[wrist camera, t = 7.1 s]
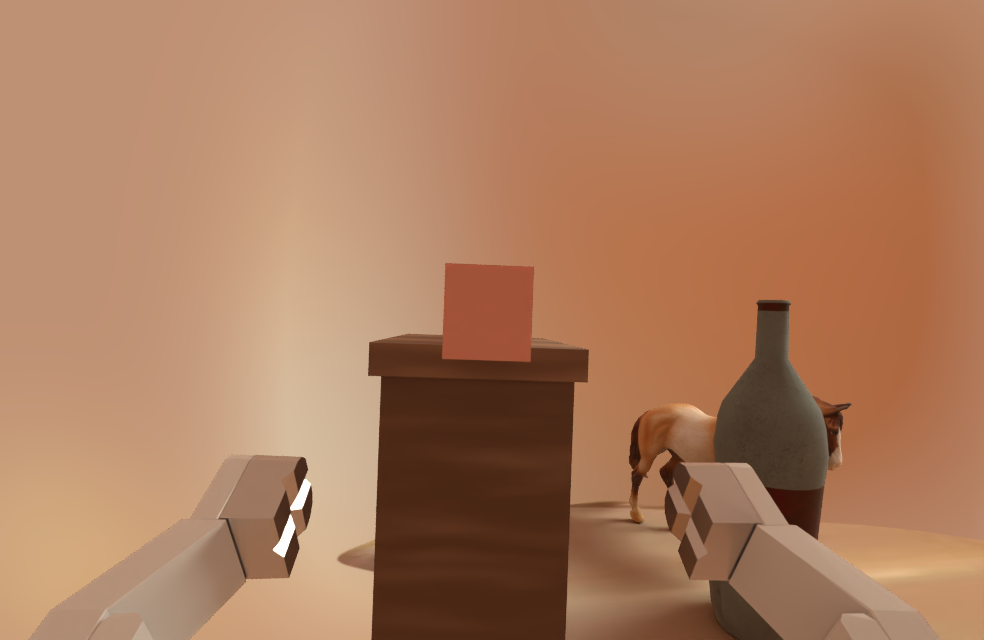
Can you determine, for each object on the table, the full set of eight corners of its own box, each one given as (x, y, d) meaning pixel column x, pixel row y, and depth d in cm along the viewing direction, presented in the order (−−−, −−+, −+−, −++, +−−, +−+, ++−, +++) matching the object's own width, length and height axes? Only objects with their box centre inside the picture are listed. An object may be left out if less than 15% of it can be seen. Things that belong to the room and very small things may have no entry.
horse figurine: (851, 605, 49) (858, 400, 49) (802, 623, 46) (809, 403, 46) (638, 499, 78) (642, 368, 78) (597, 505, 74) (602, 369, 74)
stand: (568, 915, 23) (588, 349, 23) (348, 920, 22) (369, 342, 22) (530, 688, 37) (543, 338, 37) (394, 688, 36) (407, 333, 36)
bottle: (787, 600, 50) (797, 304, 50) (848, 663, 41) (860, 300, 41) (692, 594, 50) (703, 301, 50) (731, 655, 41) (744, 296, 41)
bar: (530, 361, 15) (533, 267, 15) (442, 358, 14) (445, 263, 14) (493, 336, 36) (494, 299, 36) (458, 335, 36) (459, 297, 36)
